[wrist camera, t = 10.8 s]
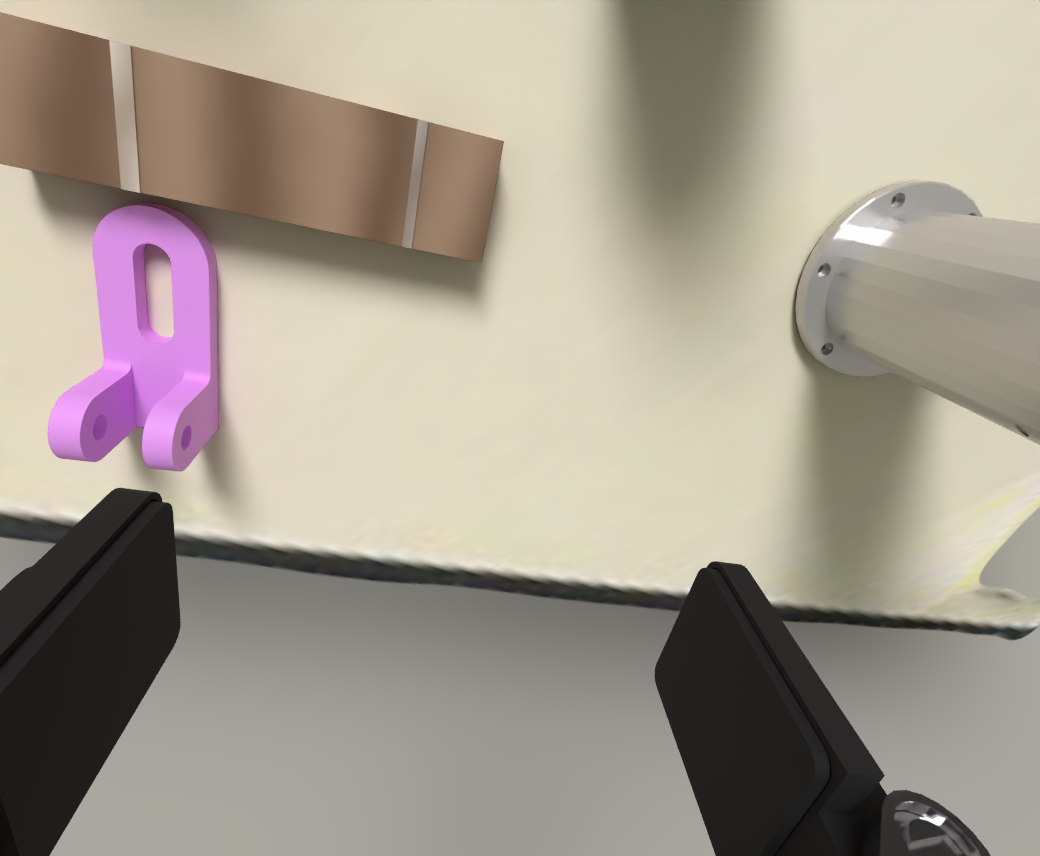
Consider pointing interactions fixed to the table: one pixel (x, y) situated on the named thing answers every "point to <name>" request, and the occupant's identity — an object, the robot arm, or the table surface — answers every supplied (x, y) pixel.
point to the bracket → (147, 347)
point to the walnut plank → (238, 142)
